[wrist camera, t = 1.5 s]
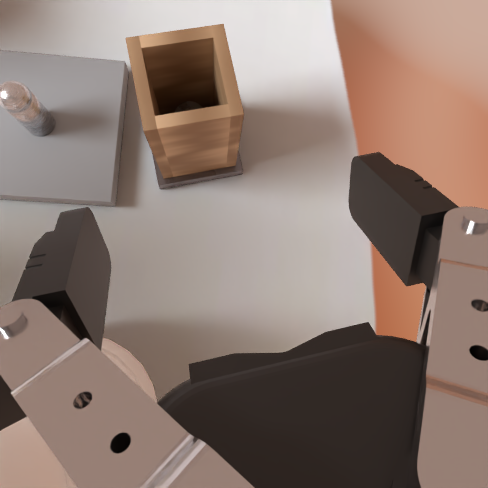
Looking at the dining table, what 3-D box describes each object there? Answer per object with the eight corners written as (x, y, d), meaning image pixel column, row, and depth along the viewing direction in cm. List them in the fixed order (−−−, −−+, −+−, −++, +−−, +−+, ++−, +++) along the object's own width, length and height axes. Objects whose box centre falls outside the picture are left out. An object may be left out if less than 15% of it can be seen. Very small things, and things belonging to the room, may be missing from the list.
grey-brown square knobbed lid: (160, 189, 32) (150, 169, 27) (145, 111, 33) (133, 78, 28) (241, 174, 33) (246, 152, 28) (225, 98, 34) (227, 64, 29)
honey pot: (-51, 405, 29) (-486, 582, 11) (95, 299, 30) (-72, 301, 13) (48, 551, 28) (-248, 1001, 10) (191, 433, 30) (158, 634, 12)
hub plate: (-37, 196, 31) (-105, 169, 24) (-16, 59, 32) (-73, -1, 26) (115, 206, 32) (89, 182, 25) (128, 71, 33) (107, 16, 27)
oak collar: (163, 178, 31) (143, 131, 22) (150, 110, 32) (125, 37, 23) (235, 165, 32) (243, 114, 23) (220, 98, 33) (223, 23, 24)
